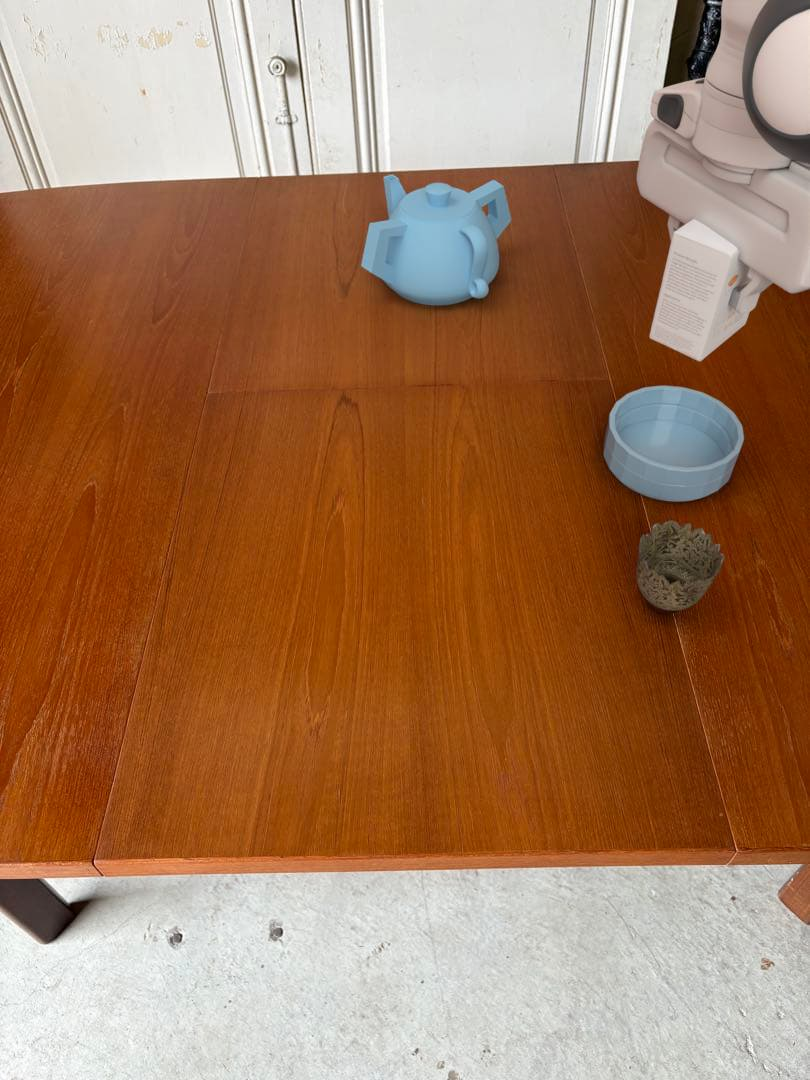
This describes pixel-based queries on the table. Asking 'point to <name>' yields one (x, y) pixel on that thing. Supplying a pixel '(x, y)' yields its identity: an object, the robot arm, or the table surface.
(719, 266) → the small box
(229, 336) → the table surface
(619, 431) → the bowl
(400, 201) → the teapot
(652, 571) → the cup
